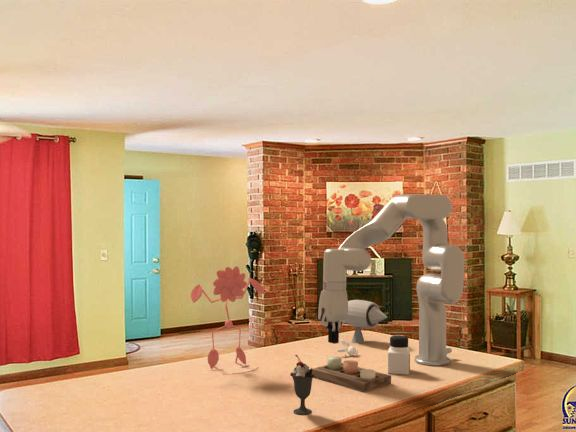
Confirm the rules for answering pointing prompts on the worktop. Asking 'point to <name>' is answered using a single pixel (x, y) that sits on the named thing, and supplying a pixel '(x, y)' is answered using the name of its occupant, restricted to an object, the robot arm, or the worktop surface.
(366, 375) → the cream egg
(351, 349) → the rabbit figurine
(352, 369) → the peach rounded dome
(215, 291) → the figurine
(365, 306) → the jet engine
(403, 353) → the medicine bottle
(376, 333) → the worktop surface
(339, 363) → the sage button
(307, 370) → the sundae
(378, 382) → the button board
